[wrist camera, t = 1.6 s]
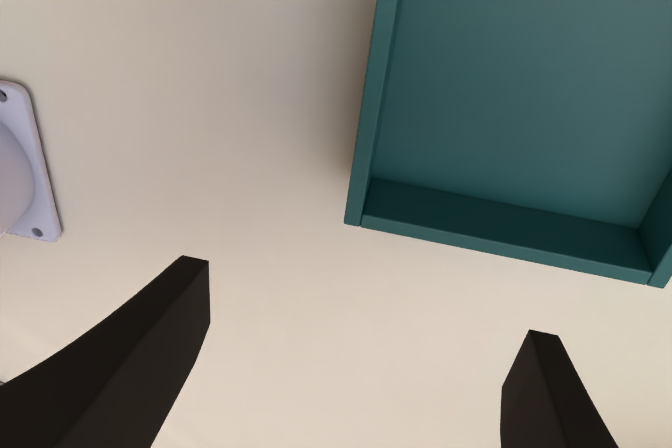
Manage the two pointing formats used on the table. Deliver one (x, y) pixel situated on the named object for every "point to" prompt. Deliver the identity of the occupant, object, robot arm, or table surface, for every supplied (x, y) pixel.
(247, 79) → the table surface
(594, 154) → the box
